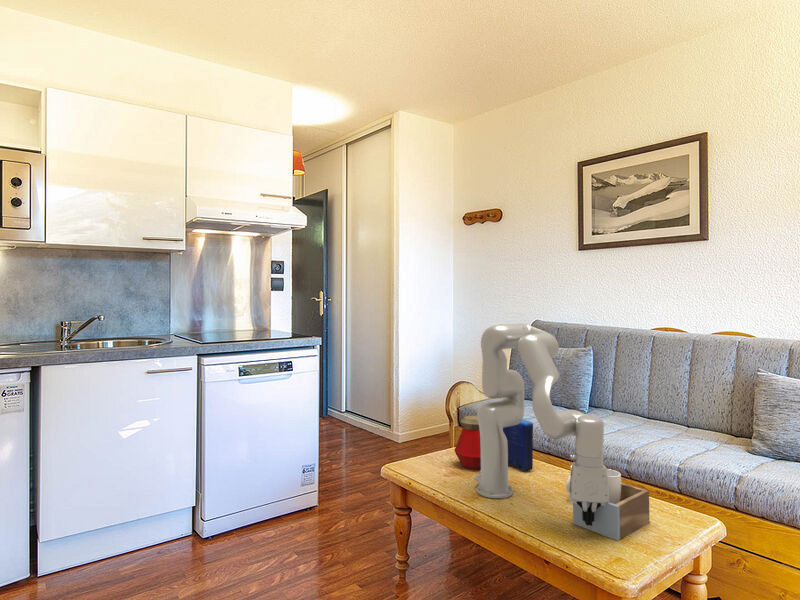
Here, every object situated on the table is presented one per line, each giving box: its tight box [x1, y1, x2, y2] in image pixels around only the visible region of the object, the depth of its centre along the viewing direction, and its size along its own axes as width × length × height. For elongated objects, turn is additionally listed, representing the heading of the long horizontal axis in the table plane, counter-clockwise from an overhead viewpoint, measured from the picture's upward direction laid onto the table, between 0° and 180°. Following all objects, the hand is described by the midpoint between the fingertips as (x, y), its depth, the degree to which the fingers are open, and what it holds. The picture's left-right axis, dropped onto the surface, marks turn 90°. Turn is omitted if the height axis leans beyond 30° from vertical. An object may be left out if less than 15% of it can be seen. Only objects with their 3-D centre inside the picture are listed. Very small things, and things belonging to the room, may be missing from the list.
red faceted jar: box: [454, 415, 481, 471], centre depth 199 cm, size 16×14×20 cm
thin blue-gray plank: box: [572, 502, 621, 542], centre depth 141 cm, size 14×1×10 cm, turn 38°
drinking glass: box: [606, 468, 622, 504], centre depth 147 cm, size 7×7×15 cm
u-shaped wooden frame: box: [616, 482, 650, 540], centre depth 147 cm, size 14×17×10 cm
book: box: [503, 418, 534, 472], centre depth 198 cm, size 14×5×20 cm, turn 29°
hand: (588, 523), depth 140 cm, fingers closed
